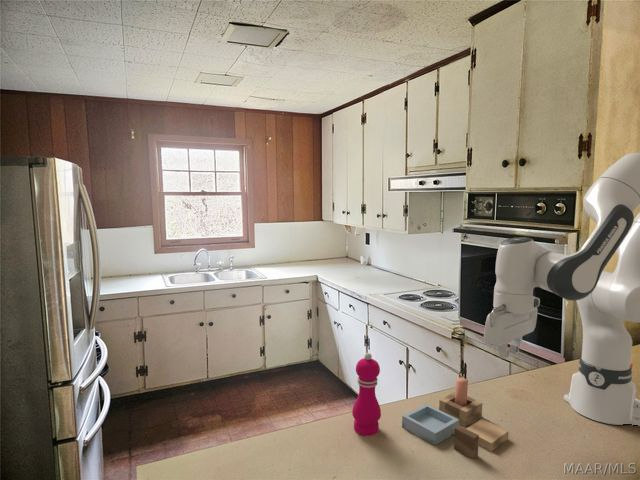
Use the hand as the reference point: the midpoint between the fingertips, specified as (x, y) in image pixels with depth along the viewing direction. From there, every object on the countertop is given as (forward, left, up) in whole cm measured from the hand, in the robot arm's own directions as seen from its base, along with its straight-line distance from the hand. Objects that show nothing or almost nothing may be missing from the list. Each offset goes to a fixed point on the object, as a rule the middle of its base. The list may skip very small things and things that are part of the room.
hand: (508, 355), depth 106 cm
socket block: (+5, -10, -19) cm, 22 cm away
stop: (+18, 0, -19) cm, 26 cm away
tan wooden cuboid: (+9, 0, -20) cm, 21 cm away
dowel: (+5, -10, -19) cm, 22 cm away
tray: (+17, -11, -19) cm, 28 cm away
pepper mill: (+30, -21, -19) cm, 41 cm away
